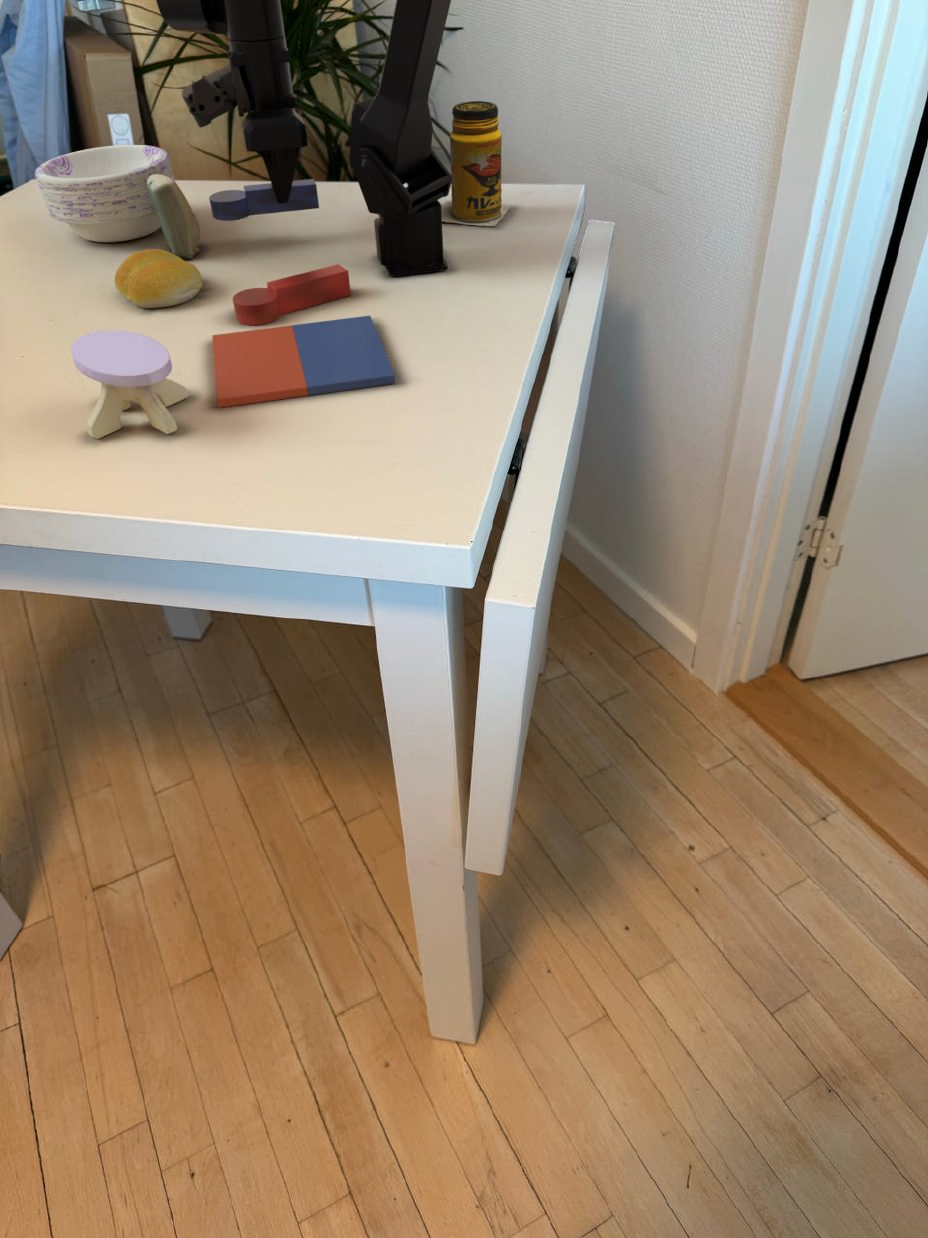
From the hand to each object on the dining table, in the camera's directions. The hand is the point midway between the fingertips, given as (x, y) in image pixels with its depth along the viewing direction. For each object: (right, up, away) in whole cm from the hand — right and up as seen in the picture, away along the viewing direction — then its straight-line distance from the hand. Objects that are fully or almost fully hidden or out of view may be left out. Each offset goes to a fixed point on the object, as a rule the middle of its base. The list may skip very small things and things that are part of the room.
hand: (282, 199), depth 100 cm
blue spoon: (-2, -1, 0) cm, 2 cm away
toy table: (-6, -31, -27) cm, 42 cm away
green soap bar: (-12, -6, +1) cm, 13 cm away
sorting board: (+6, -25, -21) cm, 33 cm away
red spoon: (+4, -16, -11) cm, 20 cm away
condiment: (+22, +2, +8) cm, 23 cm away
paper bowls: (-21, -1, +7) cm, 22 cm away
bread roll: (-11, -14, -8) cm, 19 cm away
